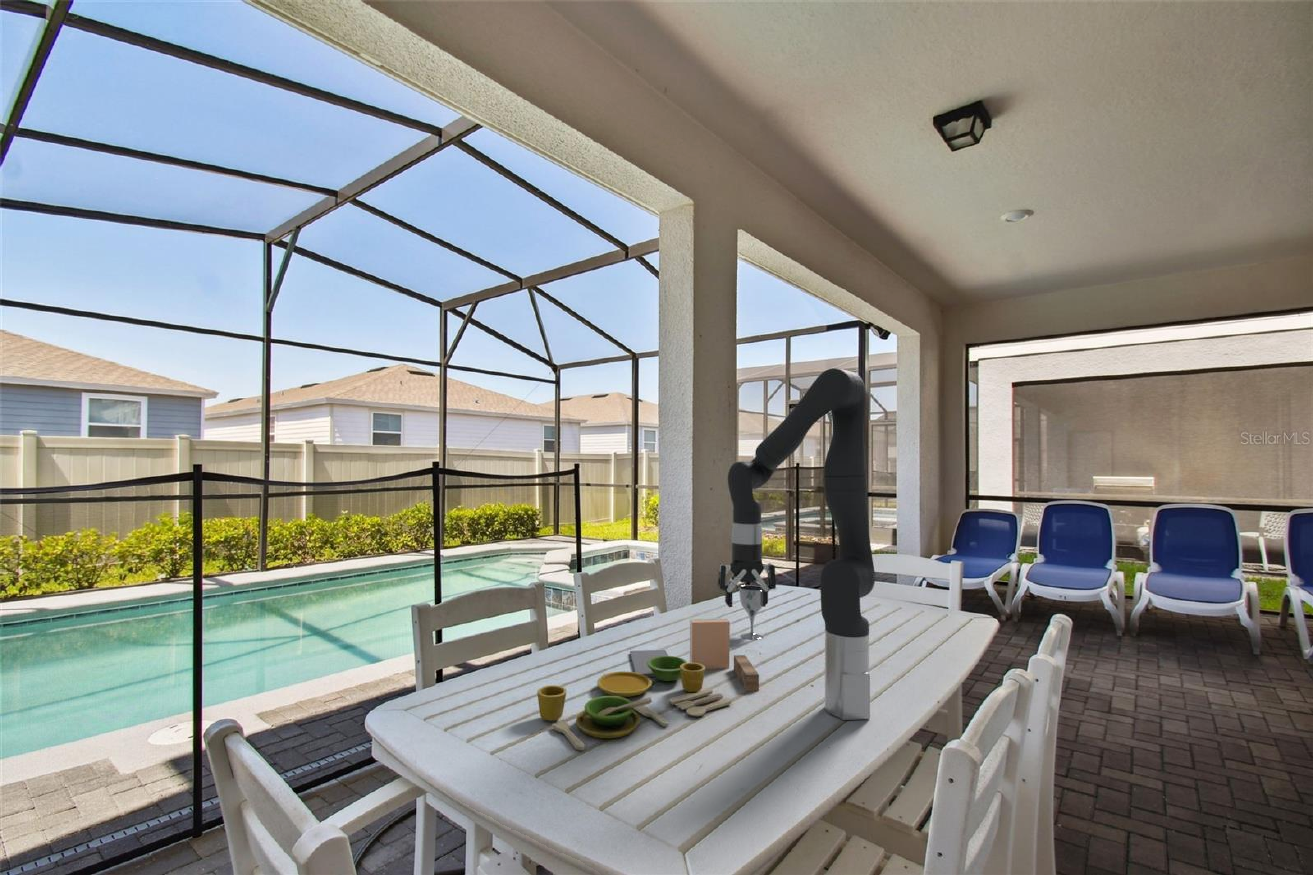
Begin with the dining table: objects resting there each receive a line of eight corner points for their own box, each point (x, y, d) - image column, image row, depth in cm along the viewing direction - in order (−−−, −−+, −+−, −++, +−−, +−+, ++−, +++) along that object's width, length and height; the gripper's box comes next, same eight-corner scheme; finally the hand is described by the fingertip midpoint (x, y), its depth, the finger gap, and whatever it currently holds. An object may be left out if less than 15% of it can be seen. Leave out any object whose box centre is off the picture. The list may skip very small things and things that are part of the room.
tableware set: (572, 756, 107) (573, 721, 107) (517, 700, 130) (517, 672, 130) (741, 704, 131) (741, 675, 131) (668, 664, 154) (669, 640, 154)
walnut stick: (758, 691, 139) (758, 674, 139) (746, 692, 139) (746, 675, 139) (745, 670, 153) (745, 655, 153) (733, 670, 153) (733, 655, 153)
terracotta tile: (729, 668, 154) (729, 621, 155) (691, 669, 153) (692, 622, 153) (726, 664, 157) (726, 618, 158) (689, 665, 156) (690, 619, 156)
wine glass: (766, 640, 178) (767, 590, 179) (740, 640, 178) (741, 590, 179) (762, 632, 186) (763, 585, 187) (737, 632, 186) (737, 584, 187)
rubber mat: (675, 676, 148) (675, 672, 148) (636, 677, 147) (636, 674, 147) (665, 652, 166) (665, 649, 166) (630, 653, 165) (630, 650, 165)
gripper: (722, 543, 143) (722, 610, 142) (779, 543, 145) (779, 609, 144) (715, 539, 150) (715, 603, 150) (769, 538, 152) (769, 602, 152)
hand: (746, 606), depth 147 cm, fingers open, 8 cm apart
